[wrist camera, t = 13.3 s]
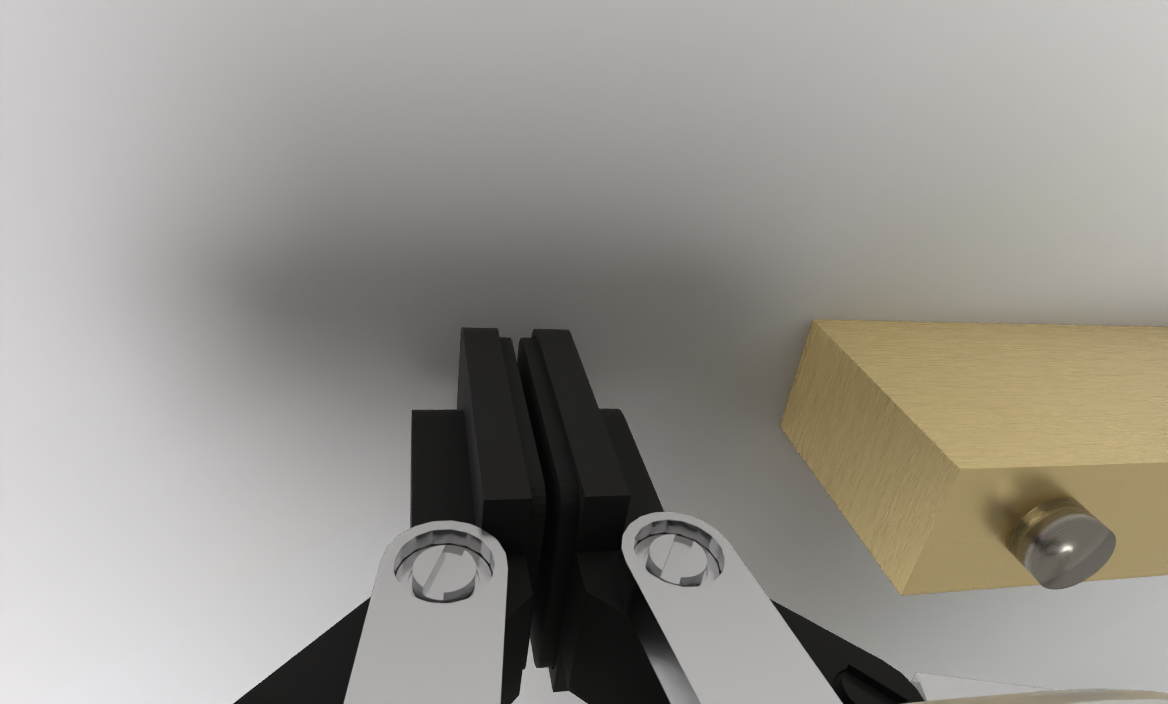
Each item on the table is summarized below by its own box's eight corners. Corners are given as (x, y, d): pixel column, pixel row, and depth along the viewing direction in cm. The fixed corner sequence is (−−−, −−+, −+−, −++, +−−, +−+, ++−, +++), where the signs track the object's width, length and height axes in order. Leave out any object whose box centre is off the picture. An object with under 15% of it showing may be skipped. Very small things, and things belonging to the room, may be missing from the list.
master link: (1235, 414, 18) (1501, 576, 13) (775, 421, 15) (924, 628, 11) (1295, 325, 16) (1607, 471, 12) (808, 315, 14) (990, 498, 9)
